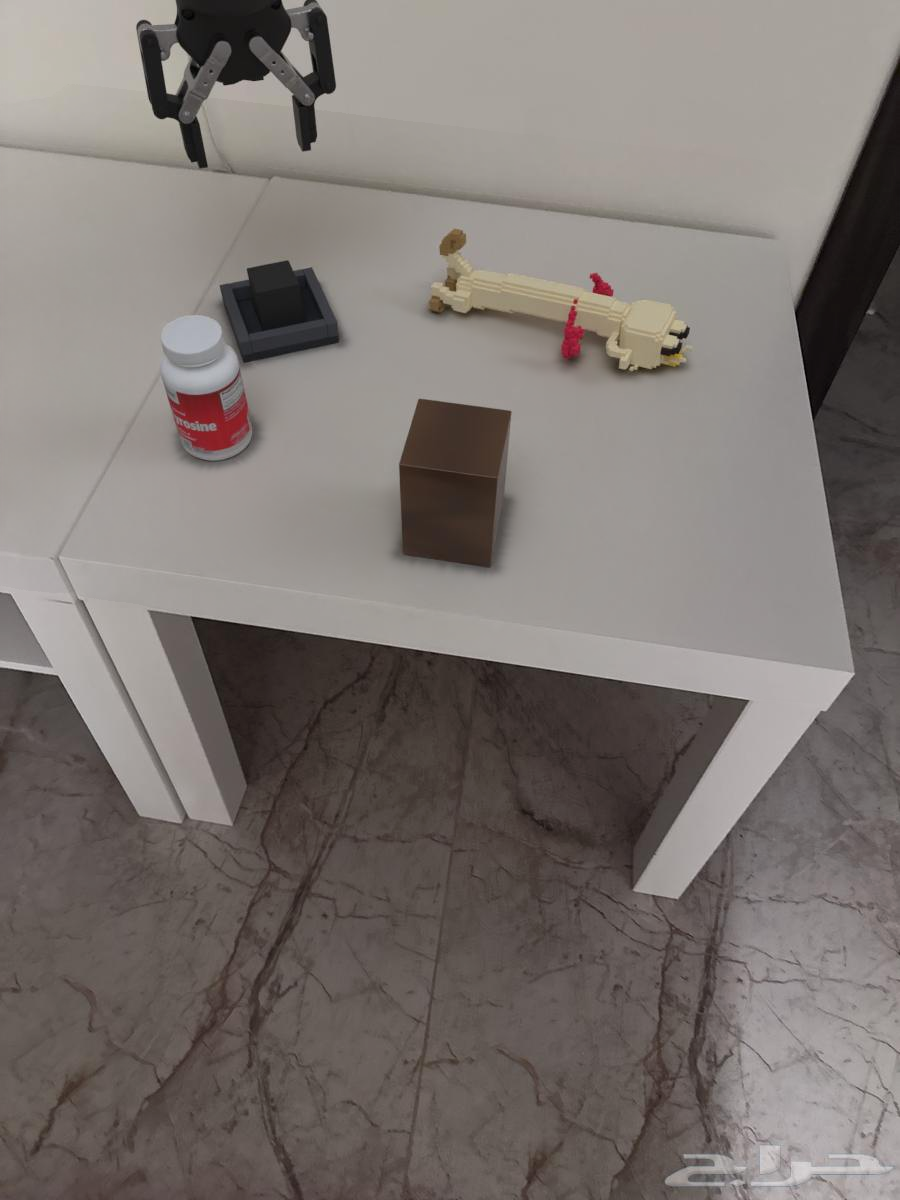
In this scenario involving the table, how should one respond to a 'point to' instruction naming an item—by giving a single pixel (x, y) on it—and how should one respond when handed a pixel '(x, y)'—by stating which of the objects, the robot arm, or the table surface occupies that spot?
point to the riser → (453, 481)
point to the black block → (275, 295)
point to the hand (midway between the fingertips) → (253, 155)
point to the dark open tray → (282, 340)
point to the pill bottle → (204, 388)
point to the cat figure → (566, 309)
